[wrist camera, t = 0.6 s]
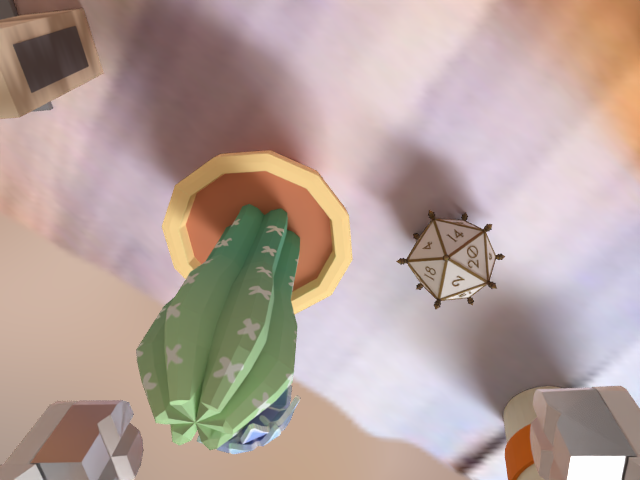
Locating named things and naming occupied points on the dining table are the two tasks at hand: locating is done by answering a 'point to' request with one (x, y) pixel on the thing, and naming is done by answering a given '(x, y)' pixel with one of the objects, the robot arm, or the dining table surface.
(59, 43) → the birch block
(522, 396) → the reusable coffee cup
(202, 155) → the dining table surface
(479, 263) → the game die
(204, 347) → the potted cactus
